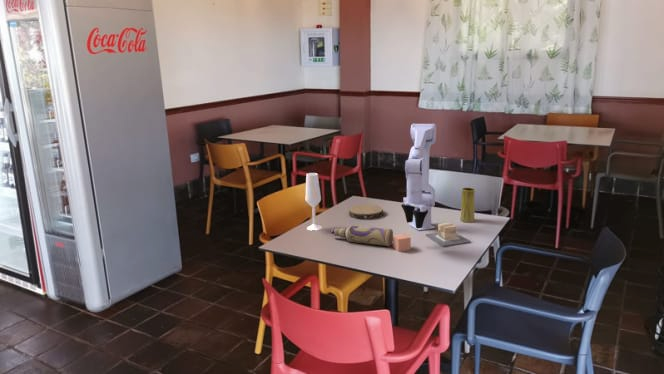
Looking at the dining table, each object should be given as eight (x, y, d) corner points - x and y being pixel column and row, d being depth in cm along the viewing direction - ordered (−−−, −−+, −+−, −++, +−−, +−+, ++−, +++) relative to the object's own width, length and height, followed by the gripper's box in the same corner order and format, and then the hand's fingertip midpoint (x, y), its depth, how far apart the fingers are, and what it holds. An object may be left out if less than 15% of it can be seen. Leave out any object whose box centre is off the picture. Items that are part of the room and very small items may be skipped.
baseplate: (425, 235, 206) (425, 233, 206) (451, 231, 210) (451, 229, 210) (443, 247, 193) (443, 245, 193) (470, 242, 197) (470, 240, 197)
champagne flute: (323, 225, 223) (320, 172, 218) (321, 230, 217) (318, 175, 211) (307, 225, 224) (305, 172, 218) (305, 230, 218) (302, 176, 212)
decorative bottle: (394, 242, 200) (394, 226, 199) (388, 249, 194) (388, 232, 192) (335, 235, 211) (334, 219, 210) (327, 241, 205) (326, 225, 203)
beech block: (438, 236, 203) (438, 224, 202) (449, 234, 204) (449, 222, 203) (444, 240, 198) (444, 227, 197) (455, 238, 200) (456, 226, 198)
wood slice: (389, 212, 239) (388, 206, 239) (373, 222, 226) (373, 215, 226) (359, 208, 248) (359, 202, 247) (342, 217, 235) (342, 211, 234)
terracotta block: (392, 247, 195) (392, 235, 194) (404, 245, 196) (404, 233, 195) (398, 251, 190) (398, 239, 189) (410, 250, 192) (410, 237, 191)
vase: (464, 223, 219) (465, 191, 216) (457, 219, 225) (458, 188, 222) (477, 221, 221) (478, 189, 217) (469, 217, 227) (470, 186, 223)
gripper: (396, 187, 195) (396, 220, 199) (414, 196, 182) (413, 232, 185) (412, 185, 198) (412, 218, 201) (431, 193, 184) (431, 229, 188)
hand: (414, 224), depth 193 cm, fingers open, 7 cm apart
